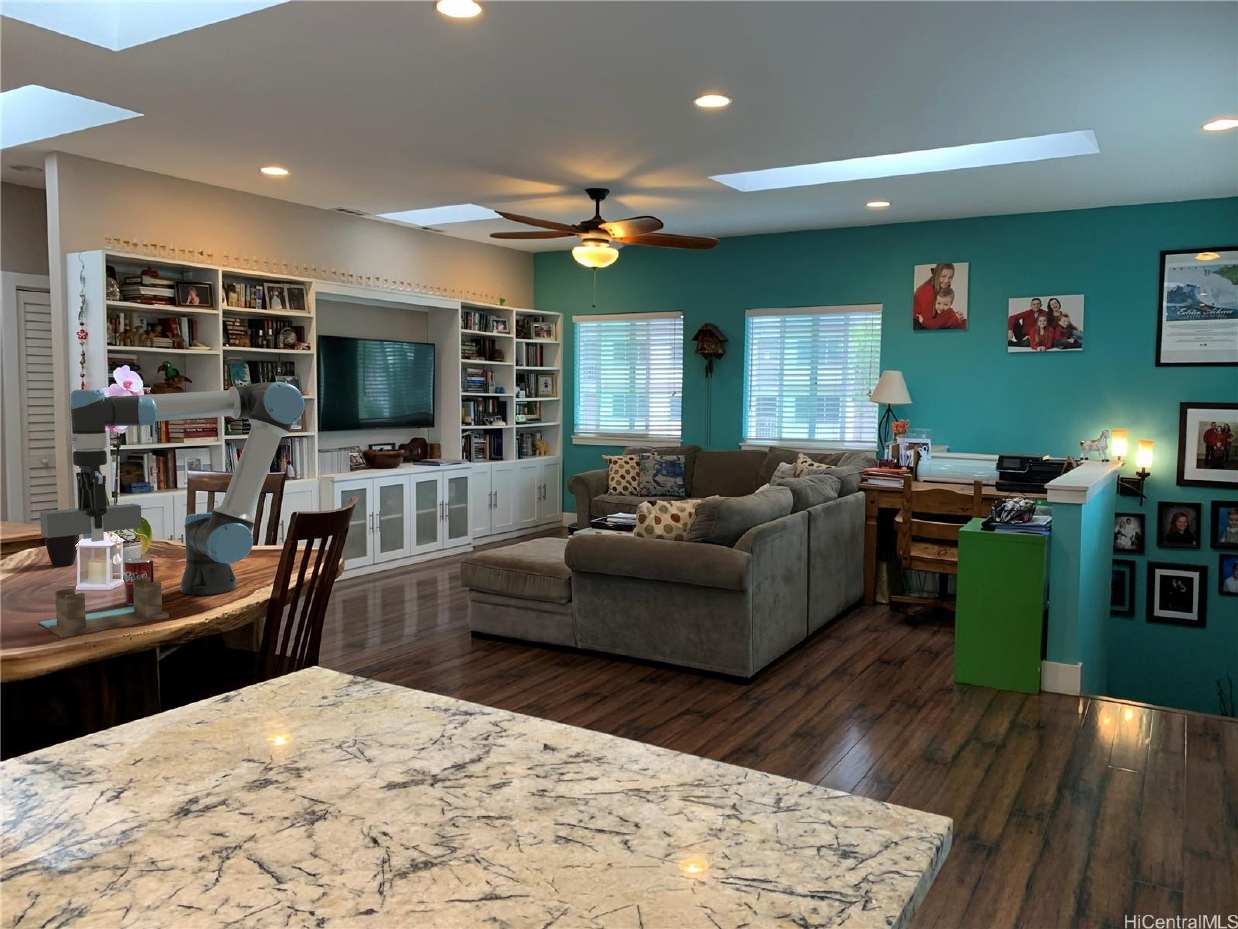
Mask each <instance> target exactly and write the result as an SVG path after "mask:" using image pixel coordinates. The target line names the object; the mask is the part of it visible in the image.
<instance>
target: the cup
mask: <svg viewBox="0 0 1238 929" xmlns="http://www.w3.org/2000/svg"><path fill="white" fill-rule="evenodd" d="M78 542H80V535H71V536H62V537H53V538H47V537H44V543H45V546H46V550H47V554H48V558H49V561H50V563H51V566H53V567H58V568H59V567H69V566H73V565H74V563H75V561H76V558H77V554H78V549H77V550H76V547H75V545H76V544H77V543H78ZM78 544H79V543H78Z"/></svg>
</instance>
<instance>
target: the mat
mask: <svg viewBox="0 0 1238 929" xmlns="http://www.w3.org/2000/svg"><path fill="white" fill-rule="evenodd" d="M128 612H134V605H131V606H127V607H126V606H125V607H121V608H116V609H114V608H113V609H108V610H103V611H97V612H91V613H85V615H86V620H88V619H93V618H99V617H105V616H111V615H117V614H123V613H128ZM38 624H40V625H41V626H43V627H45V628H46V629H49V626H53V625H57V618H54V619H49V620H42V621H39V622H38ZM49 630H50V629H49Z"/></svg>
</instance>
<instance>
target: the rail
mask: <svg viewBox="0 0 1238 929" xmlns="http://www.w3.org/2000/svg"><path fill="white" fill-rule="evenodd" d="M106 509H107V513H106V514H104V515H103V529H104V533H107V532H108V533H109V532H116V531H124V530H135V529H142V528H143V526H142V506H141V504H136V503H125V504H114V505H106ZM89 514H92V511H91V507H90V508H79V509H78V508H70V509H69V508H68V509H58V510H46V511H40V512H39V515H40V516H39V517H40V519H39V520H40V536H41V537H43V538H45V537H47V538H53V537H62V536H71V535H79V536H80V535H83V534H90V533H91V520H90V517H89Z"/></svg>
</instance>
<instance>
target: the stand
mask: <svg viewBox="0 0 1238 929" xmlns="http://www.w3.org/2000/svg"><path fill="white" fill-rule="evenodd" d="M75 590H76V589H75V588H66V589H60V590H59V589H58V590H55V592H54V593H55V611H56V612H55V613H56V614H55V616H56V618H55V619H57V625H53V626H49V632H51V633H53V634H55V635H56V636H58V637H60V638H64V637H71V636H77V635H82V634H87V633H94V632H98V631H99V632H100V631H105V630H109V629H110V630H111V629H115V628H120V627H127V626H133V625H139V624H143V623H144V624H145V623H147V622H148V623H149V622H154V621H160V620H164V619H169V618H170V613H168V612H166V611H164V610H163V598H162V597H163V596H162V595H163V594H162V591H163V590H162V581H161V580H158V581H154V582H151V583H150V577H147V578H140V579H134V580H133V594H134V605H133V606H134V612H128V613H123V614H117V615H111V616H105V617H99V618H93V619H88V620H86V615H85V614H86V597H85V596H86V595H85V594H86V593H85V592H80V593H76V592H75Z"/></svg>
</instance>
